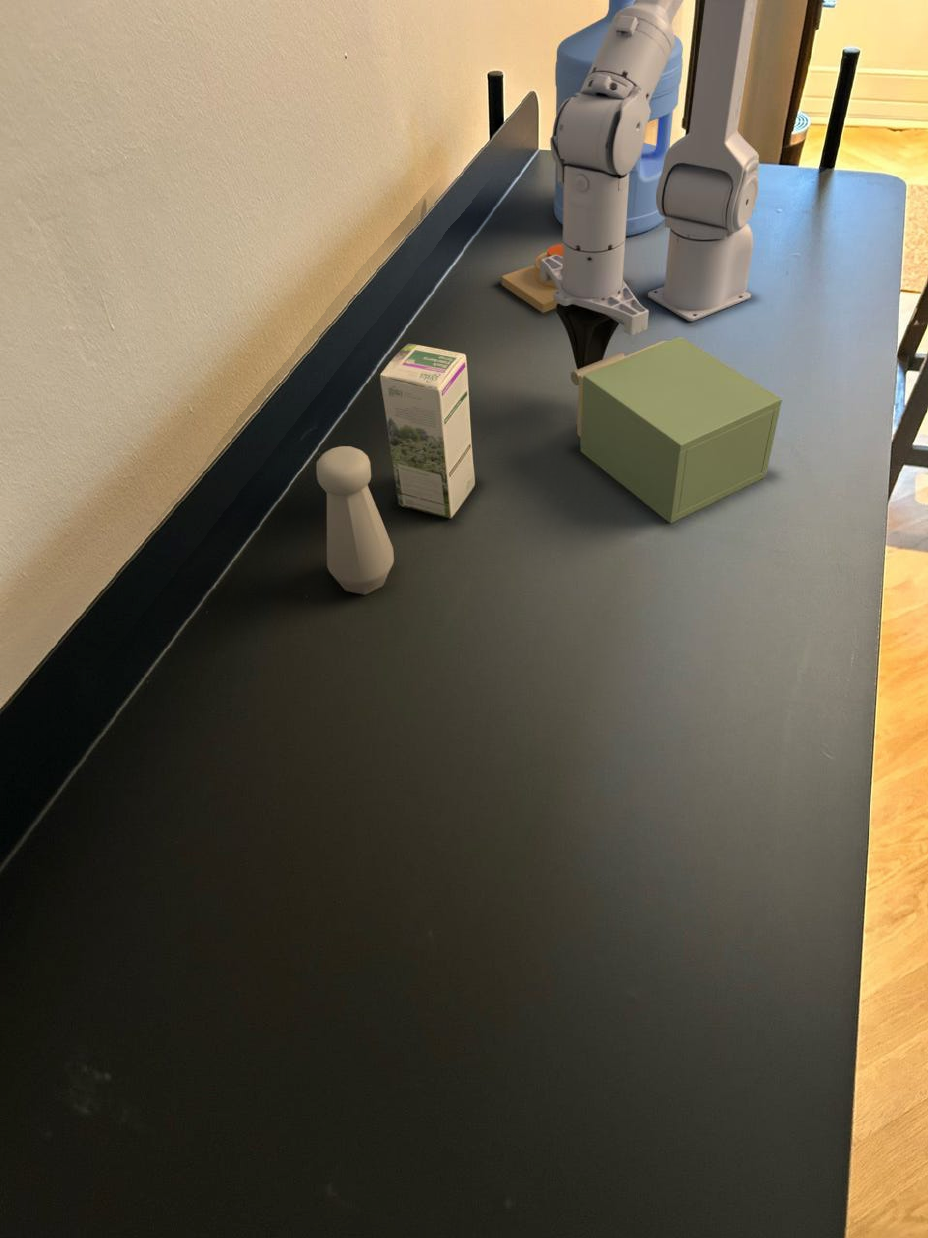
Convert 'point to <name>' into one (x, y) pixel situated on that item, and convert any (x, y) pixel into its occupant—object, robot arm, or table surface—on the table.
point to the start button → (555, 250)
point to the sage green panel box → (677, 427)
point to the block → (532, 286)
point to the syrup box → (429, 428)
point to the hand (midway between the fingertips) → (588, 368)
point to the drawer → (578, 374)
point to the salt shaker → (353, 522)
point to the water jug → (646, 173)
